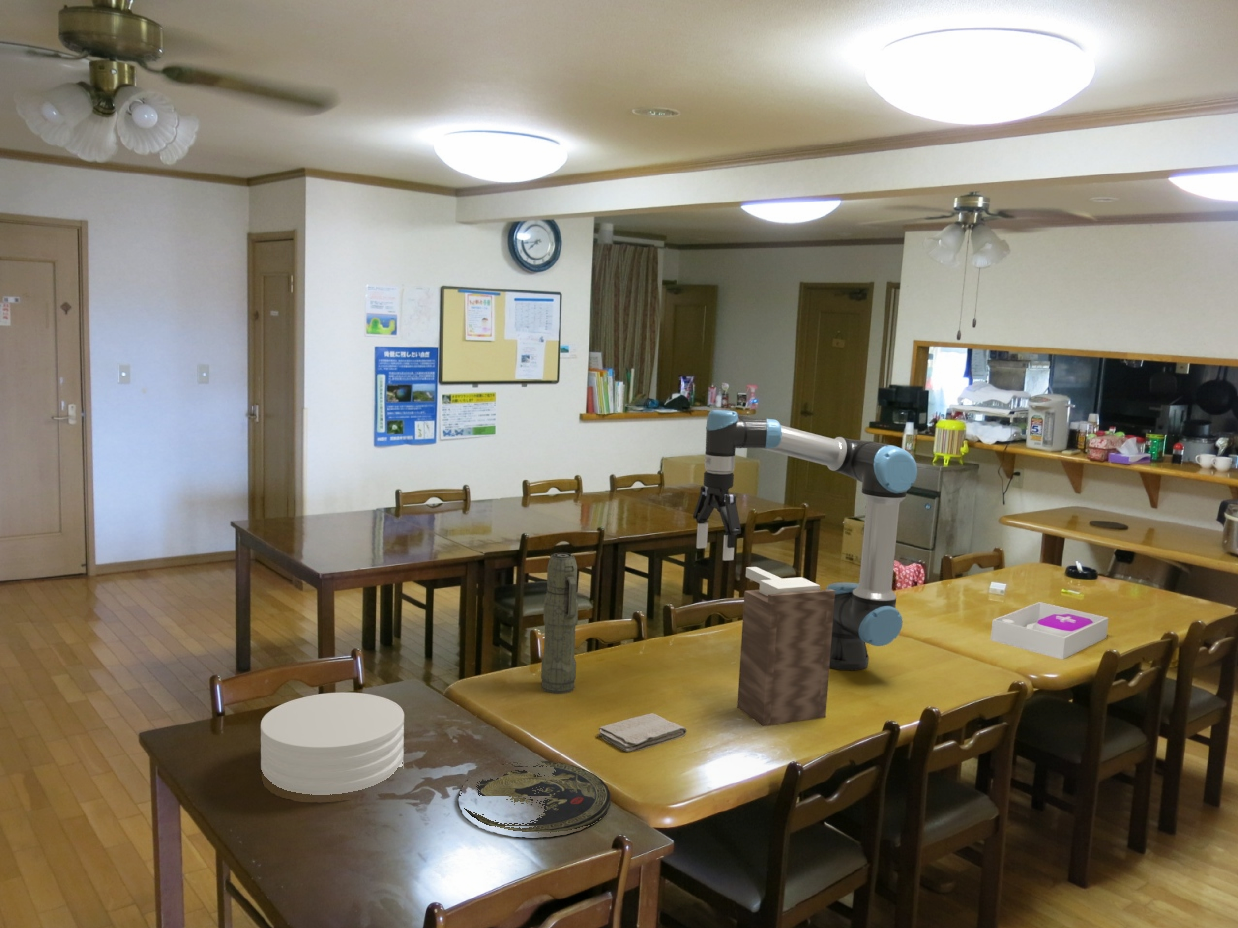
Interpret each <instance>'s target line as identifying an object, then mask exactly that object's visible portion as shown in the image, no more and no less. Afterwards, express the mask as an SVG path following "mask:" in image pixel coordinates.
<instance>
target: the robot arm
mask: <svg viewBox="0 0 1238 928" xmlns="http://www.w3.org/2000/svg"><path fill="white" fill-rule="evenodd" d="M705 431H706V433H705V434H706V435H705V436H706V437H705V455H704V460H703V461H704V470H705V472H704V473H703V485H702V486H701V487H700V491H699V496H698V499H697V503H696V506H695V509H694V511H693V512H694V513H693V515H692V519H694V520H695V521H696V523H697V528H696V529H697V531H696V546H695V547H696V549H707V548H708V536H709V535H708V534H709V533H708V532H709V517H710V516H711V515H712V512H713V511H714V509H716V511H717V512H719V516H720V517H721V521H722V525H723V528H724V531H725V532H724V533H723V544H722V545H723V547H722V561H725V562H726V561H734V557H735V546H736V545H735V543H736V536H737V535H739V534H742V529H741V524H740V518H739V513H738V507H737V495H736V494H734V493H733V494H730V492H729V491H730V489H732V488H734V482H735V481H734V480H735V478H734V477H735V474H734V473H733V472H734V471H735V466H736V450H737V449H760V450H764V451H768V452H773V453H776V454H781V455H784V456H788V457H791V458H794V459H795V458H796V459H800V460H804V461H808V462H812V463H815V464H820V465H823V466H827V468H828V470H830V471H833V472H836V473H840V474H842V475H843V476H844V475H845V476H847V477H850V478H851V479H854V480H855V481H859V482H861V484H862V485H861V495H862V496H863V497H864V499H865V500H866V504H865V513H864V527H863V538H862V547H861V548H862V549H861V559H860V572H859V580H858V581H859V582H858V583H857V582H833V583H830V584H828V585H827V586H826V589H825V590H828V589H832V590H834V591H835V599H834V612H833V625H832V638H831V651H830V664H829V669H830V668H831V669H835V670H840V671H858V670H859V671H860V670H863V669H866V668H867V667H868V666H869V659H870V658H869V654H868V650H867V645H866V644H869V645H871V646H874V647H882V646H884V647H885V646H887V645H889V644H890V643H892V642H893V641H894V640H895V639H897V638H898V637H899V635H900V633H901V631H902V628H903V621H904V620H903V616H902V614H901V613H900V611H899V610H898V609H897V608H896V605H897V595H896V593H895V592H894V591H893V589H892V587H893V578H894V577H893V576H894V566H895V565H894V564H895V555H896V544H897V536H898V535H897V533H898V523H899V522H898V521H899V512H900V511H899V510H900V503H901V502H903V500H905V499H906V498H907V491H908V490H911V488H912V486H913V485H914V483H916V480H917V478H918V477H917V476H918V466H917V463H916V460H915V459H914V457H913V456H912V454H911V453H910V452H909V451H907V450H905V448H901V447H898V446H896V445H891V444H886V443H881V442H877V441H871V440H860V439H851V438H845V437H843V436H836V437H835V438H831V437H827V436H823V435H820V434H817V433H816V434H815V433H812V432H808V431H803V430H800V429H797V428H793V427H789V426H785V425H781V423H780V421H778V420H776V419H774V418H773V419H771V418H768V417H767V418H757V417H752V416H747V415H743V414H739V413H738V412H737V411H734V410H726V409H725V410H724V409H713V410H710V411H709V412H708V414H707V418H706V426H705Z"/></svg>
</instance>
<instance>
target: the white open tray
mask: <svg viewBox="0 0 1238 928" xmlns="http://www.w3.org/2000/svg"><path fill="white" fill-rule="evenodd" d="M991 624H992V625H991V631H990V641H991V642H996V643H999V644H1004V645H1007V646H1010V647H1014V648H1018V649H1022V650H1025V651H1029V652H1033V653H1037V654H1040V655H1044V656H1047V657H1051V658H1056V659H1059V660H1065V659H1067V658H1069V657H1071V656H1072V655H1075V654H1077V653H1078V652H1081V651H1082V650H1084V649H1086V648H1088V647H1089V648H1090V646H1092V645H1095V644H1096V643H1099V642H1101V641H1103V640H1105V639H1107V637H1108V636H1107V635H1108V628H1109V627H1108V626H1109V617H1106V616H1102V615H1099V614H1093V613H1089V612H1086V611H1081V610H1076V609H1072V608H1067V607H1062V606H1058V605H1054V604H1050V603H1045V602H1041V601H1039V602H1036V603H1034V604H1030V605H1028V606H1026V607H1025V606H1024V607H1023V608H1020V609H1017V610H1015V611H1012V612H1010V613H1008V614H1007V613H1006V614H1005V615H1001V616H999V617H997V618H993V619H992V623H991Z"/></svg>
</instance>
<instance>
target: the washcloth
mask: <svg viewBox="0 0 1238 928" xmlns="http://www.w3.org/2000/svg"><path fill="white" fill-rule="evenodd" d="M598 731H599V733H598V734H597V736H598V737H601V739H603V740H604V741H605V742H607V743H608V744H610V745H613V746H614V747H616V748H618V749H620V750H621V751H623V752H626V753H631V752H637V751H641V750H645V749H648V748H651V747H654V746H657V745H661V744H665V743H667V742H670V741H673V740H677V739H680V738H682V737H684V736H685V735H686V734H687V728H686V727H684V726H682V725H679V724H678V723H676V722H671V721H669V720H667V719H666V718H664V717H662V716H659V715H658V714H656V713H653V712H651V713H647V714H643V715H639V716H635V717H631V718H628V719H624V720H620V721H618V722H614V723H610V724H606V725H601V726H600V727H599V728H598Z"/></svg>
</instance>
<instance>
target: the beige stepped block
mask: <svg viewBox="0 0 1238 928" xmlns="http://www.w3.org/2000/svg"><path fill="white" fill-rule="evenodd" d="M745 578H747V579H749V580H751V581H754V582H756V583H758V584H759V589H758V590H759V592H760V593H762V594H764V595H766V596H768V594H778V593H791V592H803V591H815V590H821V585H820V584H818V583H815V582H813V581H810V580H809V579H807V578H805V577H801V576H800V577H787V578H786V577H785V578H783V577H779V576H778V575H775V574H773V573H771V572H769V571H766V570H764V569H762V568H760V567H757V566H748V567H745Z"/></svg>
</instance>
